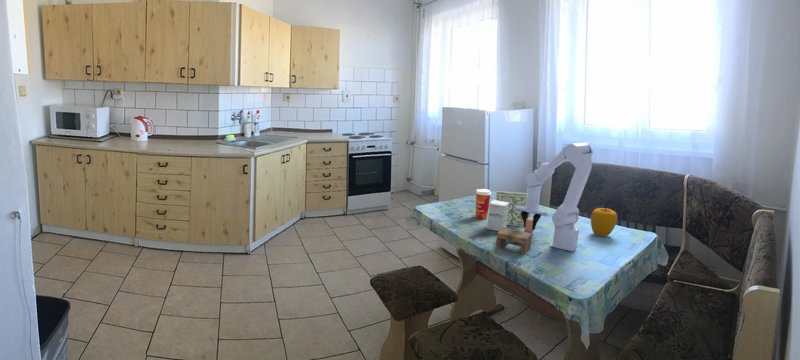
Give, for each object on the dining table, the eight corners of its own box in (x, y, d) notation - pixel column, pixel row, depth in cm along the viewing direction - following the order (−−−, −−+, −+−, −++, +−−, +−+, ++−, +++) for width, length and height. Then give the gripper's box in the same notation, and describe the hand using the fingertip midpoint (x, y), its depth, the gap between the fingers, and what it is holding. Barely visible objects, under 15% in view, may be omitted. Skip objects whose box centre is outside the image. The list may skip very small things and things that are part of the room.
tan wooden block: (533, 231, 205) (534, 219, 203) (521, 244, 190) (522, 231, 189) (526, 230, 206) (528, 217, 205) (514, 242, 192) (515, 229, 190)
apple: (617, 240, 200) (621, 213, 197) (591, 238, 202) (595, 210, 199) (611, 232, 210) (615, 206, 207) (586, 230, 212) (590, 203, 209)
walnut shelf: (530, 248, 186) (532, 233, 185) (524, 254, 179) (526, 239, 178) (502, 241, 192) (503, 227, 191) (495, 247, 185) (497, 232, 184)
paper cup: (470, 216, 226) (472, 189, 222) (483, 214, 229) (485, 188, 226) (479, 220, 219) (481, 193, 216) (492, 219, 222) (494, 192, 219)
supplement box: (486, 229, 207) (488, 203, 204) (491, 225, 214) (493, 199, 211) (502, 232, 204) (505, 205, 201) (506, 228, 210) (509, 202, 207)
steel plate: (520, 249, 186) (520, 246, 186) (516, 252, 182) (516, 250, 182) (508, 246, 189) (509, 243, 189) (504, 249, 185) (505, 247, 184)
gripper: (551, 200, 201) (548, 229, 204) (519, 195, 208) (516, 223, 211) (547, 204, 195) (543, 233, 198) (514, 198, 202) (511, 227, 205)
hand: (529, 228), depth 204 cm, fingers closed on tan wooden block, 3 cm apart
